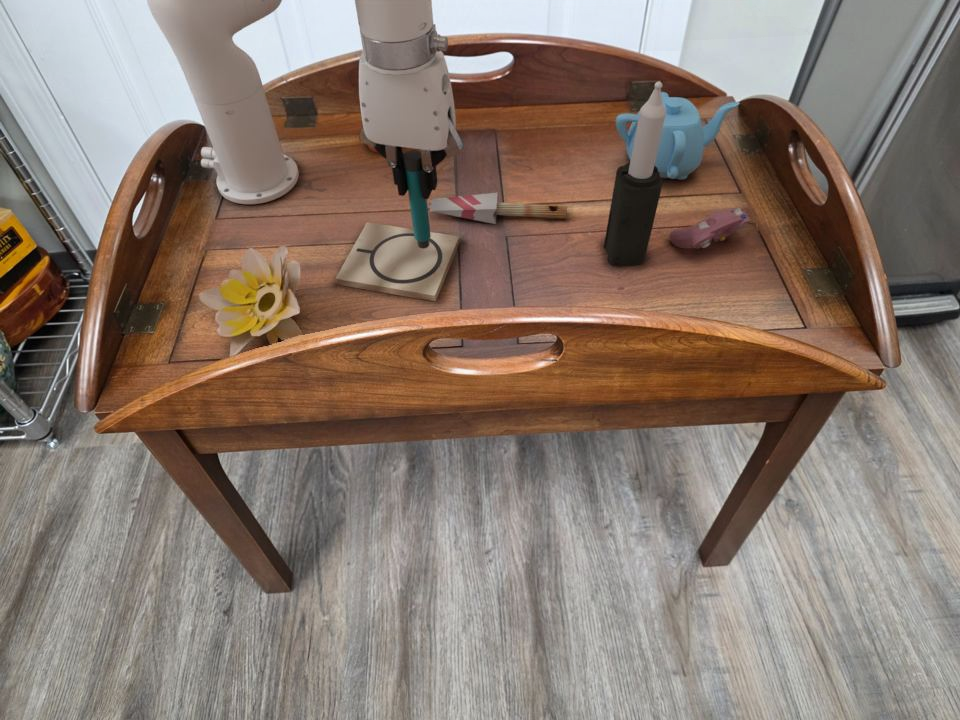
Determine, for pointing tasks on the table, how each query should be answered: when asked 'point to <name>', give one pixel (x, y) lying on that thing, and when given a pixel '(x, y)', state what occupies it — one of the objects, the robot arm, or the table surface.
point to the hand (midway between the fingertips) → (416, 189)
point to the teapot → (677, 135)
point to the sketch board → (398, 262)
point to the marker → (417, 198)
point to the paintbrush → (492, 208)
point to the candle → (637, 189)
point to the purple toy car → (710, 229)
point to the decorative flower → (257, 300)
